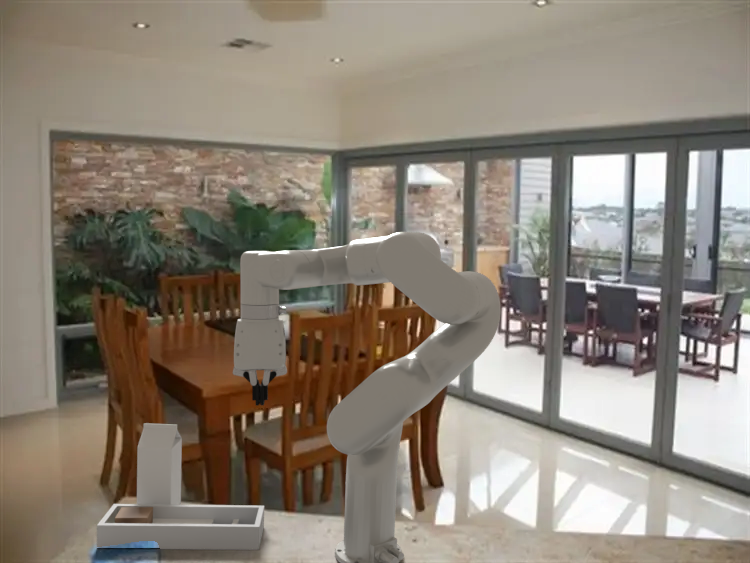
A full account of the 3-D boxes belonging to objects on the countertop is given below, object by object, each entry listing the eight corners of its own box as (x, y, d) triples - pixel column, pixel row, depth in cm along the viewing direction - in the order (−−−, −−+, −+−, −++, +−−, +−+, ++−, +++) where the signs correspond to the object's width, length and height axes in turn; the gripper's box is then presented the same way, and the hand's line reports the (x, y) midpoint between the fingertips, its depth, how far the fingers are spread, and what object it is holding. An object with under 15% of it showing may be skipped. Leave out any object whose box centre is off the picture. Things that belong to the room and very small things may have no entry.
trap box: (263, 526, 140) (264, 505, 140) (258, 549, 130) (259, 526, 130) (113, 525, 138) (113, 503, 138) (96, 548, 128) (96, 525, 128)
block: (152, 521, 136) (152, 507, 136) (147, 533, 131) (147, 517, 131) (121, 522, 135) (121, 507, 135) (114, 533, 130) (114, 518, 130)
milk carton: (170, 519, 142) (171, 429, 140) (136, 518, 142) (137, 428, 141) (180, 506, 149) (182, 420, 148) (148, 504, 149) (149, 418, 148)
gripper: (297, 310, 141) (297, 399, 142) (224, 311, 140) (224, 400, 141) (297, 314, 134) (297, 407, 135) (219, 315, 132) (219, 409, 133)
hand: (260, 403), depth 138 cm, fingers closed
